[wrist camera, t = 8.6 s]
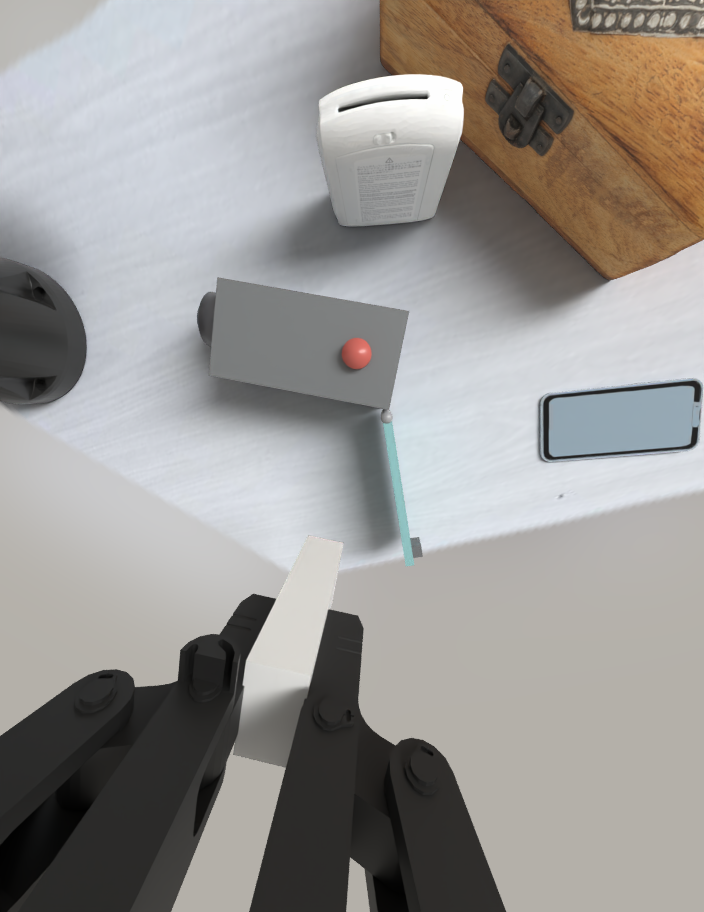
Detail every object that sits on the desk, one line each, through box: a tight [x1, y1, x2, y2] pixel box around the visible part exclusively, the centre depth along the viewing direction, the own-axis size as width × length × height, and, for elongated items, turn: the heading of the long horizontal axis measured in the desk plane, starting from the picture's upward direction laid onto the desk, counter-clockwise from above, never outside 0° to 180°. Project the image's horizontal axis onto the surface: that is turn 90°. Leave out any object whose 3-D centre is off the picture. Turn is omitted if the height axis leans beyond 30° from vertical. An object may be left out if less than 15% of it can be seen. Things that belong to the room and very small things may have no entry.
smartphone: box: [540, 378, 703, 462], centre depth 35 cm, size 7×1×15 cm
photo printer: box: [317, 74, 464, 226], centre depth 27 cm, size 10×4×12 cm, turn 93°
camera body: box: [197, 278, 409, 410], centre depth 32 cm, size 19×8×9 cm, turn 80°
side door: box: [381, 409, 422, 566], centre depth 34 cm, size 15×2×6 cm, turn 10°
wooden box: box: [380, 0, 704, 280], centre depth 24 cm, size 30×16×14 cm, turn 48°
